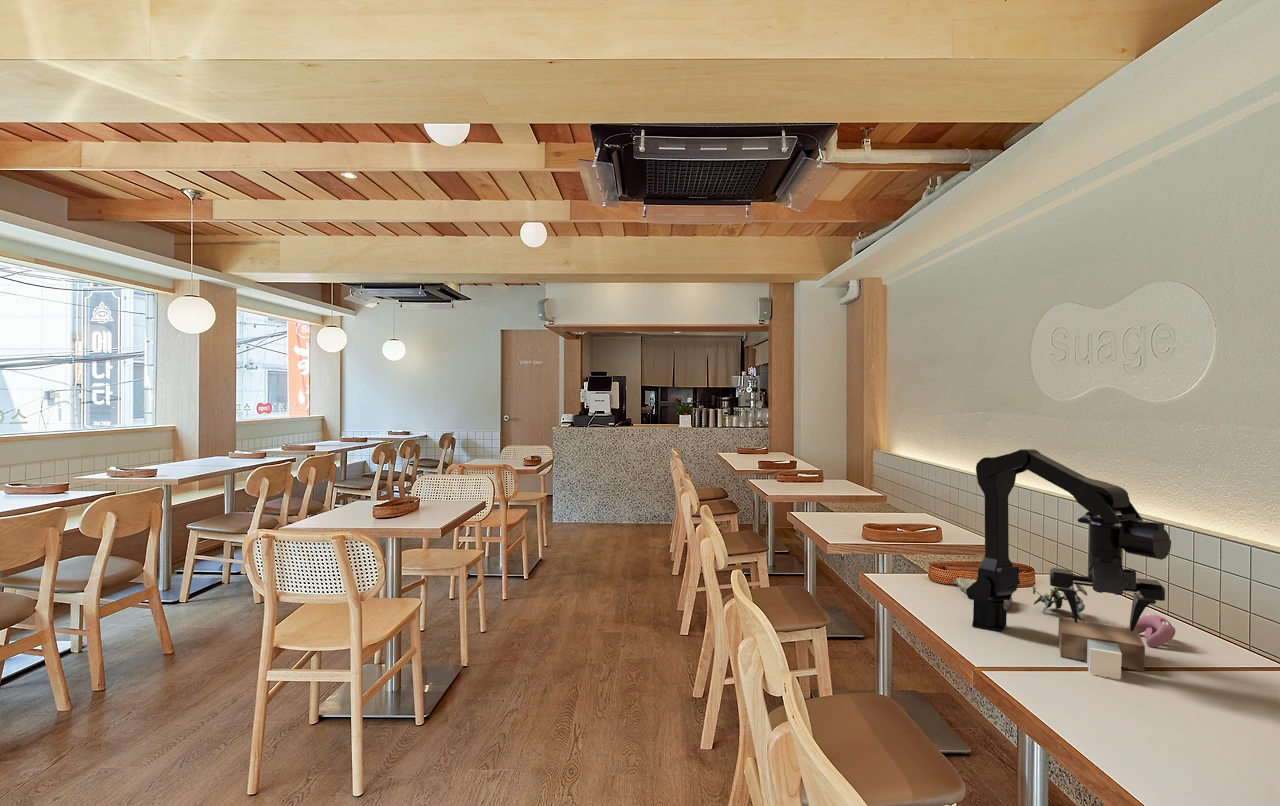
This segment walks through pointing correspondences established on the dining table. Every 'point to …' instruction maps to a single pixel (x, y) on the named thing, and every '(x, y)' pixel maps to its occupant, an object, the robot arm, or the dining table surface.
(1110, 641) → the walnut step
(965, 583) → the elongated rock
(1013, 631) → the dining table surface
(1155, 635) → the pink creature figurine
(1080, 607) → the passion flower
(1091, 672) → the grey block
